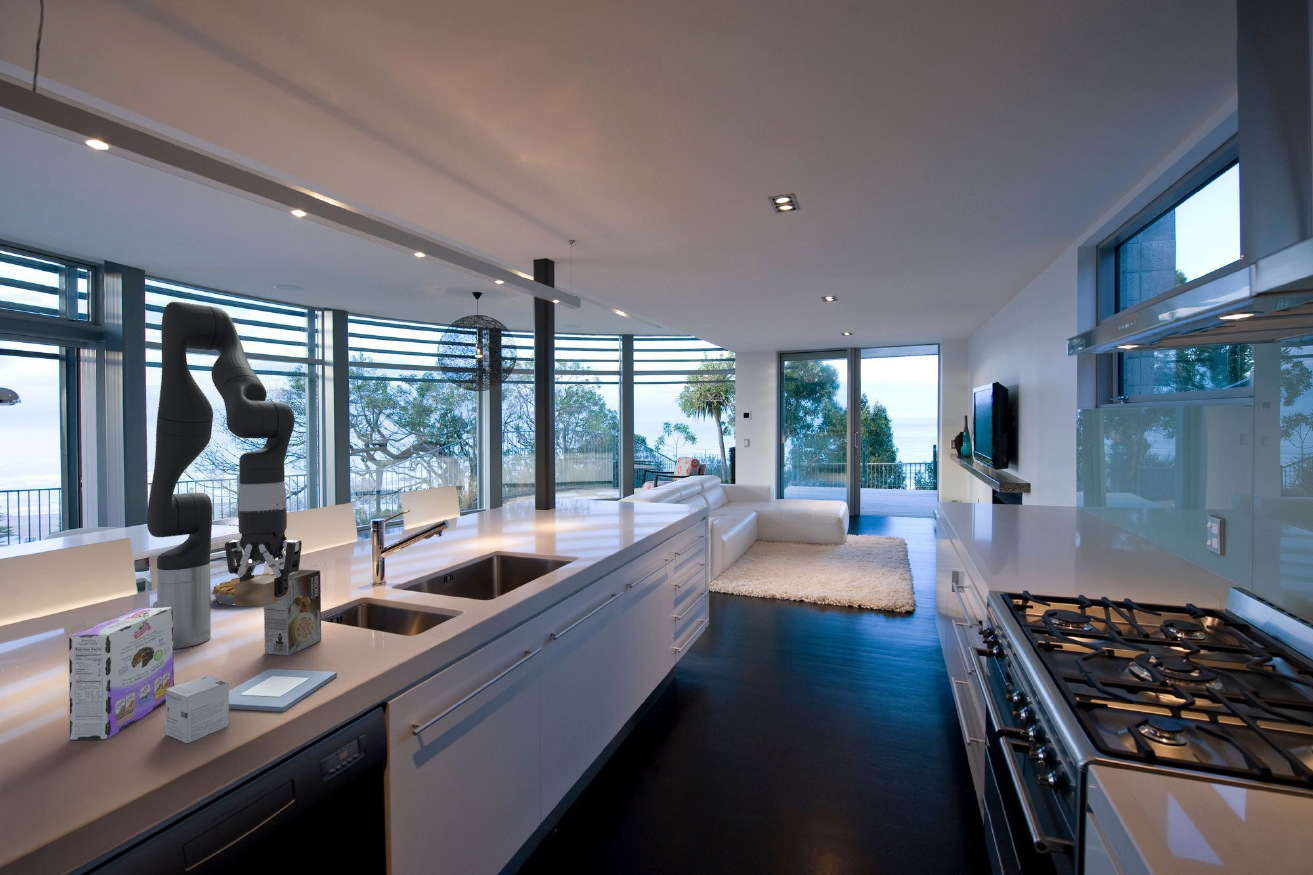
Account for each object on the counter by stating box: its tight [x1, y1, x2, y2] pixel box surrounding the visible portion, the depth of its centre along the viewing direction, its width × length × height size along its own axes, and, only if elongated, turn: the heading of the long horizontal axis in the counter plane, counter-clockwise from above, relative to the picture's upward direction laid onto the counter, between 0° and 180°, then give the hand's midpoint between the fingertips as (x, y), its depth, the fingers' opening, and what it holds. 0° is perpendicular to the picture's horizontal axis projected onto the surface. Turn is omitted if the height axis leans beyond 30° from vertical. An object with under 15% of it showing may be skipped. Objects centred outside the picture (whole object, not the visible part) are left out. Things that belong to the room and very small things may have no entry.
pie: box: [211, 572, 275, 605], centre depth 164 cm, size 22×22×5 cm
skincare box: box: [165, 674, 230, 744], centre depth 91 cm, size 6×6×7 cm
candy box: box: [68, 607, 175, 741], centre depth 95 cm, size 14×6×16 cm, turn 5°
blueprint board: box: [229, 668, 338, 712], centre depth 105 cm, size 14×14×1 cm
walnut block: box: [234, 576, 289, 607], centre depth 108 cm, size 6×6×4 cm
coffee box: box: [263, 568, 322, 656], centre depth 126 cm, size 9×6×16 cm
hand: (264, 595), depth 108 cm, fingers closed on walnut block, 6 cm apart
